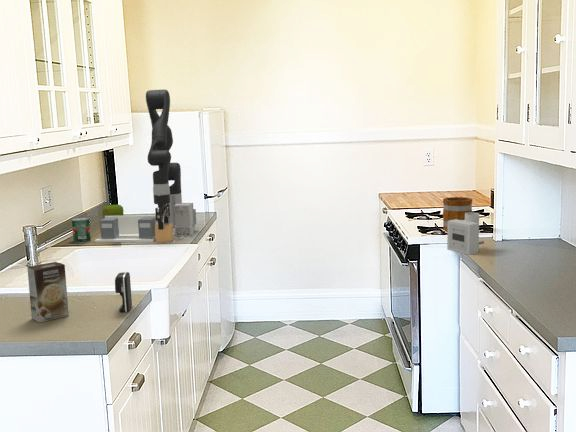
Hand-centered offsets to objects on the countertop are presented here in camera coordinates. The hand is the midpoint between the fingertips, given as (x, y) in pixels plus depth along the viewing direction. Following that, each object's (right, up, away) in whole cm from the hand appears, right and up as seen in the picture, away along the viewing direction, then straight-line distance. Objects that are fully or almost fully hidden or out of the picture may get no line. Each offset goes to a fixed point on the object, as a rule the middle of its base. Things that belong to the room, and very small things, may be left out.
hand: (163, 227), depth 299 cm
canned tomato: (-40, -7, +5) cm, 40 cm away
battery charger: (+7, -24, -101) cm, 104 cm away
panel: (-18, -6, +7) cm, 20 cm away
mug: (+139, -1, +7) cm, 139 cm away
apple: (-37, +1, +52) cm, 64 cm away
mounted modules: (-18, -4, +5) cm, 19 cm away
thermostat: (+133, -9, -36) cm, 138 cm away
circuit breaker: (+8, -3, +17) cm, 19 cm away
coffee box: (-14, -25, -106) cm, 110 cm away
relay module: (0, -6, +1) cm, 6 cm away
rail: (-18, -6, +5) cm, 20 cm away
